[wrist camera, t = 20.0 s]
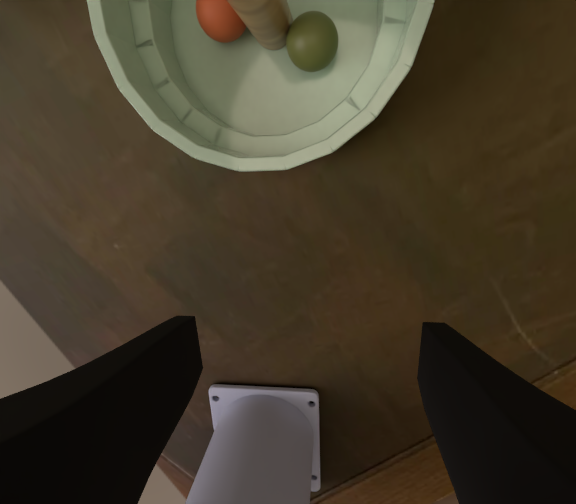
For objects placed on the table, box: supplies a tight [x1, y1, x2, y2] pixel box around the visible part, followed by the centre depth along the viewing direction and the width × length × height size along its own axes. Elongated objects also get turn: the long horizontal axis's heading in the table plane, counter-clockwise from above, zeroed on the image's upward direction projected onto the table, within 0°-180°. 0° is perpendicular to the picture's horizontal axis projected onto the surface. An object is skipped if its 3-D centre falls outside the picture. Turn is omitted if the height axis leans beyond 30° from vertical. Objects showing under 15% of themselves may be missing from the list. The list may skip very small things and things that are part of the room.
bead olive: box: [286, 11, 338, 72], centre depth 15 cm, size 2×2×2 cm
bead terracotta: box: [196, 0, 246, 43], centre depth 15 cm, size 2×2×2 cm
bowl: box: [87, 0, 435, 172], centre depth 15 cm, size 13×13×5 cm
